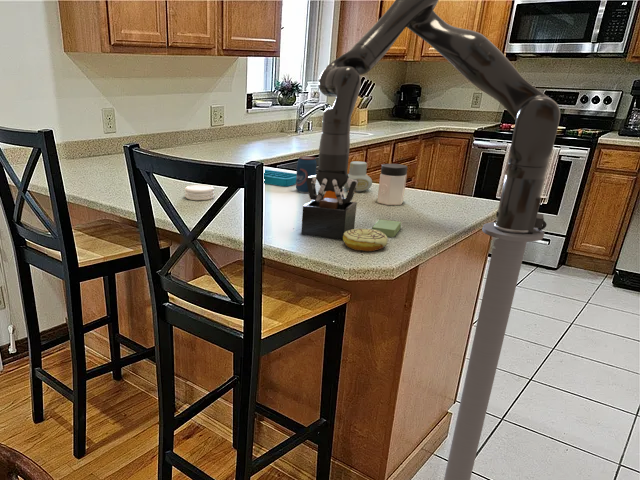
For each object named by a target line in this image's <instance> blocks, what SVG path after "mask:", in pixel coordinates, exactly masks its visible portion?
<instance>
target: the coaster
mask: <svg viewBox="0 0 640 480" xmlns="http://www.w3.org/2000/svg"><path fill="white" fill-rule="evenodd" d="M206 185H207V184H191V185H187V186H186V187H185V188H184V197H185V198H186V199H187V200H191V201H209V200H212V199H214V197H215V191H214V190H215V188H214V186H212V185H210V186H206ZM213 194H214V195H213ZM212 195H213V196H212ZM210 196H211V197H210Z"/></svg>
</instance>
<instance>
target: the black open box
mask: <svg viewBox="0 0 640 480" xmlns="http://www.w3.org/2000/svg"><path fill="white" fill-rule="evenodd" d="M357 203H358V202H357V201H350V202H349V203H345V204H344V210H340V209H331V208H323V207H316V201H315V200H313V199H311V200H310V201H308V202H306V203H304V205H302V216H301V236H309V237H316V238H324V239H331V240H332V239H333V240H337V241H344V240H343V235H344V233H345V232H346V231H348V230H351V229H355V225H356V214H357V205H358V204H357Z"/></svg>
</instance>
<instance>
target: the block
mask: <svg viewBox="0 0 640 480" xmlns="http://www.w3.org/2000/svg"><path fill="white" fill-rule="evenodd" d="M337 206H338V200H337V199H335V198H326V197H325V198H323V199H322V200H320V203H319V207H323V208H331V209H337Z"/></svg>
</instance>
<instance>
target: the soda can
mask: <svg viewBox="0 0 640 480" xmlns="http://www.w3.org/2000/svg"><path fill="white" fill-rule="evenodd" d="M317 165H318V162H317V159H316V156H310V155H302V156H299V157H298V160H297V162H296V174H297V175H296V184H295V189H296V191H297V192H298V193H301V194H309V191H308V186H307V181H306V178H307V177H309V176H316V175H317Z"/></svg>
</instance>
